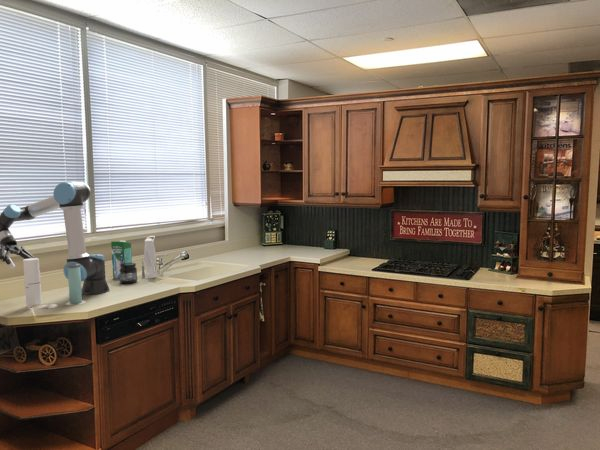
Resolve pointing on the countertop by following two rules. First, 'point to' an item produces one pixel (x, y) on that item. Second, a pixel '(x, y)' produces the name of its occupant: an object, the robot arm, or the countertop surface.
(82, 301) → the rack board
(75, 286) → the teal tube
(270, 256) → the countertop surface
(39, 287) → the tall white block
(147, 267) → the skyscraper
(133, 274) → the supplement container
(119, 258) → the milk carton
